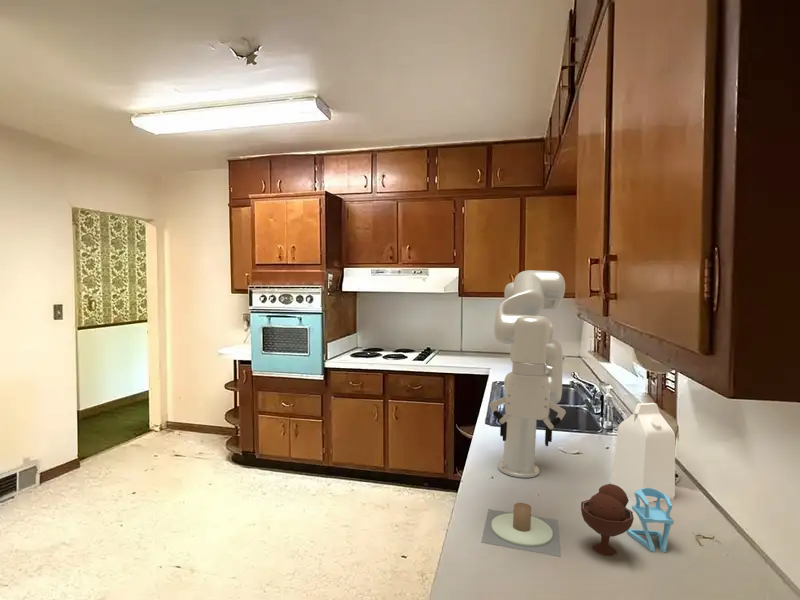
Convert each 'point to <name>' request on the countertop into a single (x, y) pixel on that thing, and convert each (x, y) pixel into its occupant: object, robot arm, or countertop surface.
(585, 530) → the countertop surface
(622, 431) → the milk
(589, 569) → the countertop surface
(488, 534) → the mat
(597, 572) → the countertop surface
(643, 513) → the chair
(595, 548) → the ice cream bowl
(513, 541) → the lid
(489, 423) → the countertop surface
